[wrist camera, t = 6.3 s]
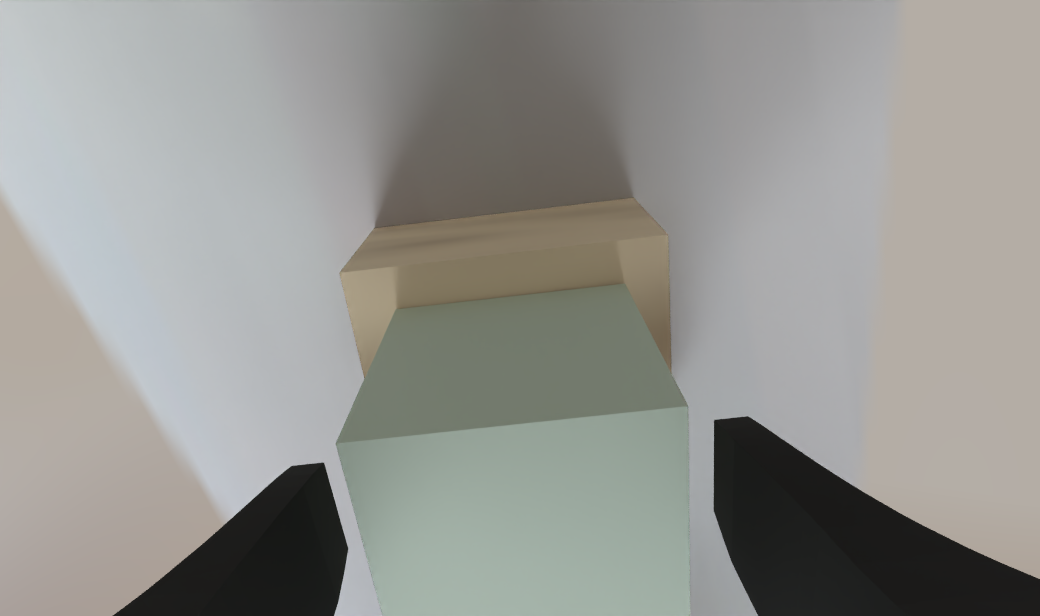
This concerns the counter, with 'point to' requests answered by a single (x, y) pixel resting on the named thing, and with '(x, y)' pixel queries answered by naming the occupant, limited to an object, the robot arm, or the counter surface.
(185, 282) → the counter surface
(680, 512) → the sage cube
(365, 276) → the beech base block
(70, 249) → the counter surface
